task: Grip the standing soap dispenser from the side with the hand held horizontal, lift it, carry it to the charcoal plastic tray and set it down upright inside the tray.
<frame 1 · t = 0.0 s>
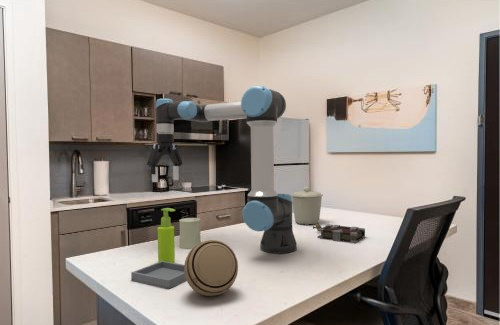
hand: (165, 181, 156), 28 cm above the table, tool pointing down, fingers open, 13 cm apart
soap dispenser: (167, 263, 126), on the table
can: (190, 246, 150), on the table
tray: (165, 277, 111), on the table
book: (334, 238, 164), on the table
canister: (306, 223, 198), on the table
tan ball: (211, 294, 97), on the table
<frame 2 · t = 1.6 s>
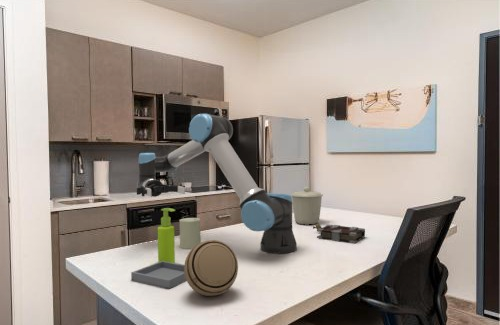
hand: (167, 191, 137), 25 cm above the table, tool horizontal, fingers open, 13 cm apart
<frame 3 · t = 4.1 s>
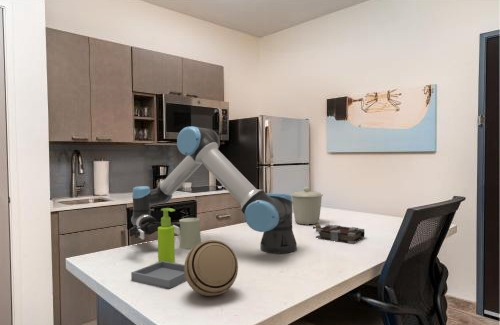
hand: (161, 233, 131), 10 cm above the table, tool horizontal, fingers open, 13 cm apart
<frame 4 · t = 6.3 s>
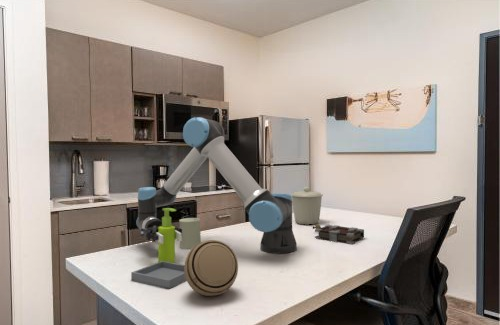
hand: (171, 238, 122), 10 cm above the table, tool horizontal, fingers closed on soap dispenser, 6 cm apart
soap dispenser: (167, 263, 126), on the table, touching gripper
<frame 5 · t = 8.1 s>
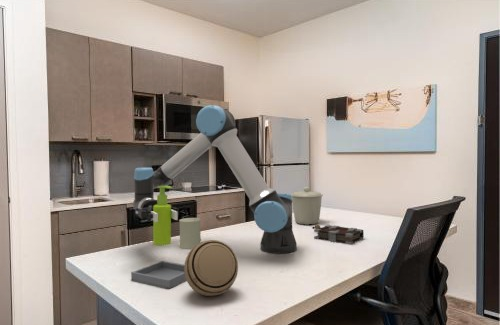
hand: (166, 216, 115), 19 cm above the table, tool horizontal, fingers closed on soap dispenser, 6 cm apart
soap dispenser: (163, 244, 119), point 9 cm above the table, touching gripper
when the fingers open (12 cm above the table, at t = 10.1 s): soap dispenser drops 2 cm, resting on tray.
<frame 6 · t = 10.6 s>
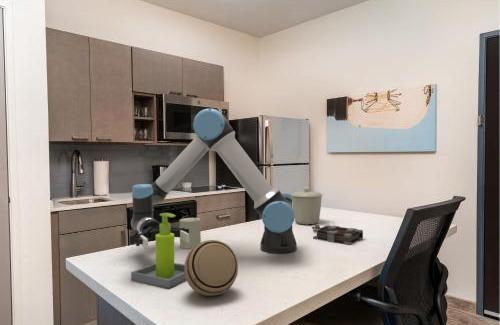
hand: (168, 240, 108), 12 cm above the table, tool horizontal, fingers open, 12 cm apart
soap dispenser: (166, 275, 111), resting on tray
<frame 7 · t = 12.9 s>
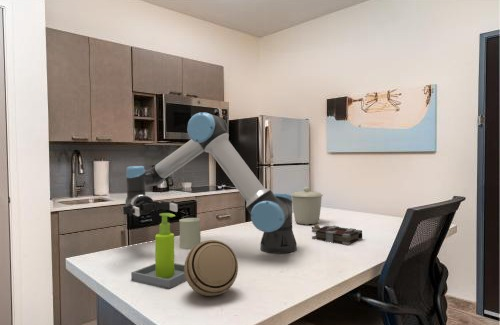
hand: (158, 210, 122), 20 cm above the table, tool horizontal, fingers open, 13 cm apart
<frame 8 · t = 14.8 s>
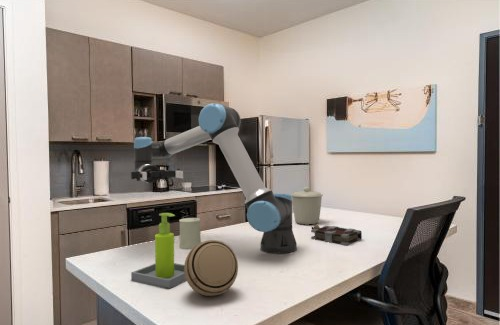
hand: (164, 175, 127), 32 cm above the table, tool horizontal, fingers open, 13 cm apart
at the end: soap dispenser 0.3 cm from the tray (horizontally); soap dispenser tilted 0°; the gripper is holding nothing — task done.
